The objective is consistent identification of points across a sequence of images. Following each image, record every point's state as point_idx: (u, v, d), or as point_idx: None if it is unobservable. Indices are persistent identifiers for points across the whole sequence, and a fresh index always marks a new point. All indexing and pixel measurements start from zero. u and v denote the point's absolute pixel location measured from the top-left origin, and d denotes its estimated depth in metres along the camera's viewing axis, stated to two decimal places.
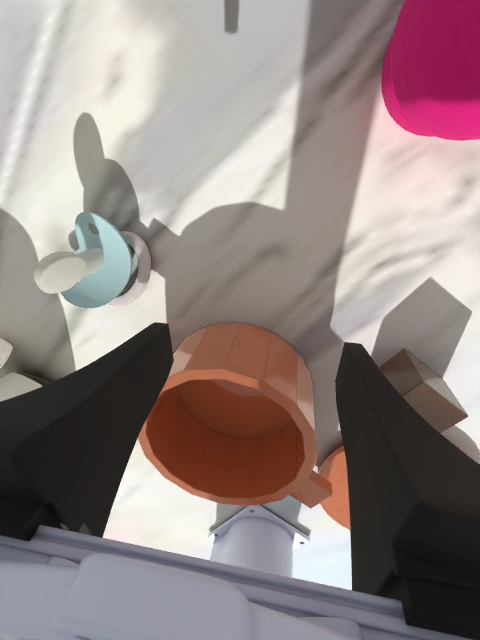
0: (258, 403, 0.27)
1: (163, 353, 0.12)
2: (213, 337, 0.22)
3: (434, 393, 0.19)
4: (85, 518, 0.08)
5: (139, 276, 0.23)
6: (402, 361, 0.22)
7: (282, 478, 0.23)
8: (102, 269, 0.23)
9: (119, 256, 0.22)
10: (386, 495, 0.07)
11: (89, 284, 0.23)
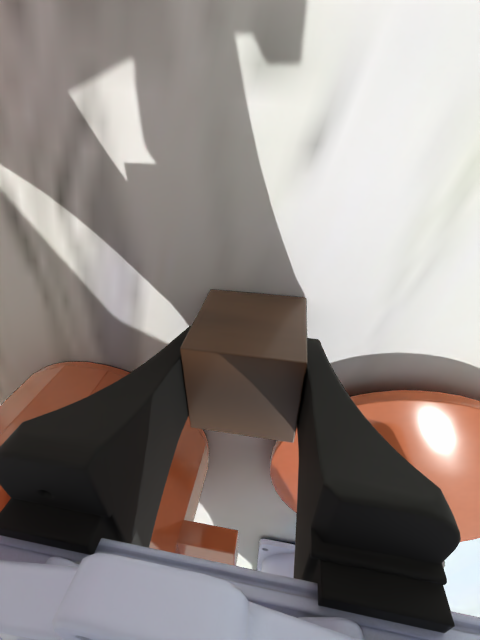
0: None
1: None
2: None
3: (215, 357, 0.10)
4: (137, 529, 0.08)
5: None
6: None
7: None
8: None
9: None
10: (311, 483, 0.07)
11: None
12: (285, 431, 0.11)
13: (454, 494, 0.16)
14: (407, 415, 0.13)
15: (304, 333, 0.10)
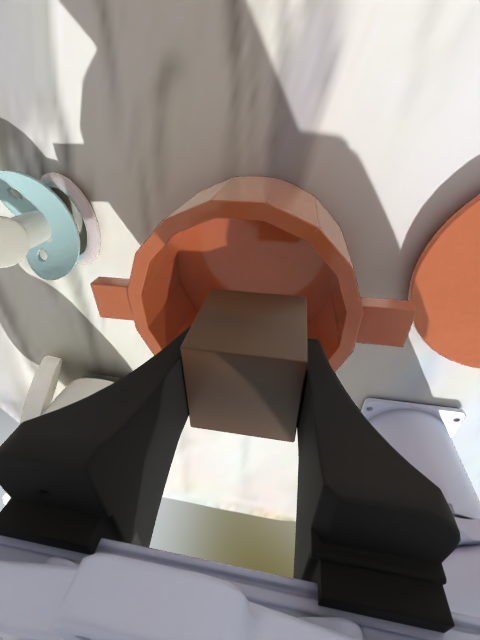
0: (284, 274, 0.21)
1: None
2: None
3: (215, 356, 0.10)
4: (137, 529, 0.08)
5: (82, 213, 0.21)
6: None
7: (340, 326, 0.17)
8: (53, 231, 0.22)
9: (51, 204, 0.20)
10: (311, 482, 0.07)
11: (55, 254, 0.23)
12: (285, 430, 0.11)
13: None
14: None
15: (304, 332, 0.10)
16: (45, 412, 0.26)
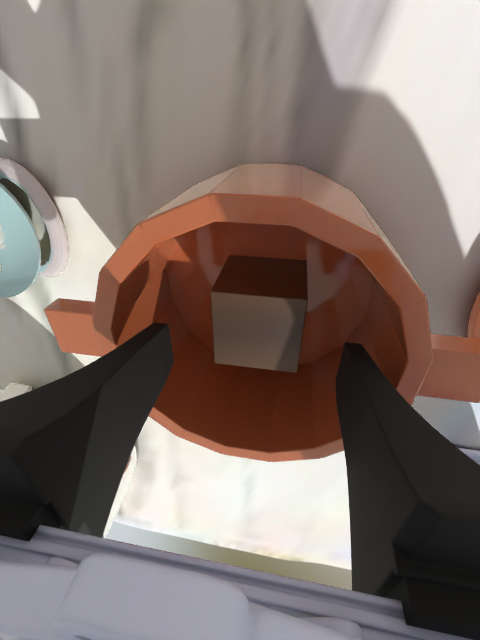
0: None
1: (163, 353, 0.12)
2: None
3: (237, 297, 0.13)
4: (85, 518, 0.08)
5: (42, 212, 0.16)
6: None
7: (390, 374, 0.12)
8: (7, 235, 0.17)
9: None
10: (386, 495, 0.07)
11: (10, 264, 0.18)
12: (290, 362, 0.14)
13: None
14: None
15: (305, 282, 0.13)
16: None
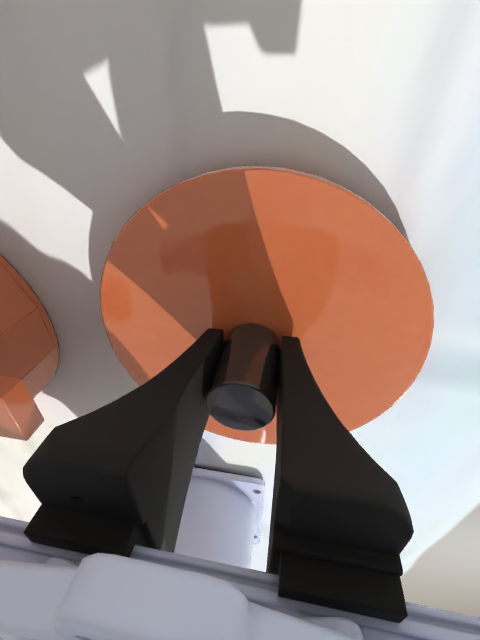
0: None
1: None
2: None
3: None
4: (165, 534, 0.08)
5: None
6: None
7: None
8: None
9: None
10: (277, 477, 0.07)
11: None
12: None
13: (321, 348, 0.12)
14: (224, 204, 0.10)
15: None
16: None
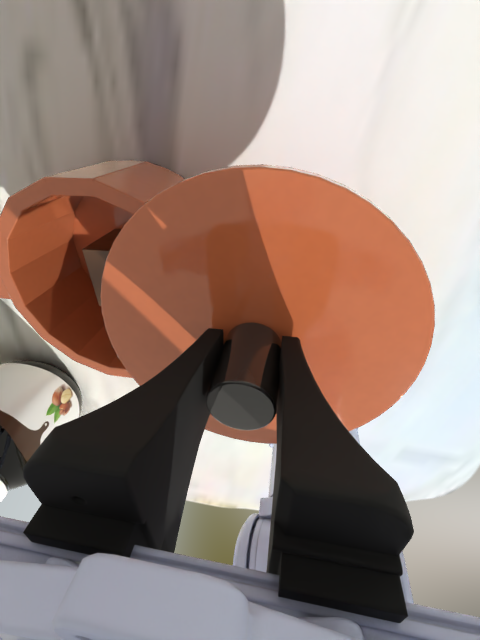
0: None
1: None
2: None
3: (99, 253, 0.18)
4: (165, 534, 0.08)
5: None
6: None
7: None
8: None
9: None
10: (277, 477, 0.07)
11: None
12: None
13: (322, 347, 0.12)
14: (225, 203, 0.10)
15: None
16: None
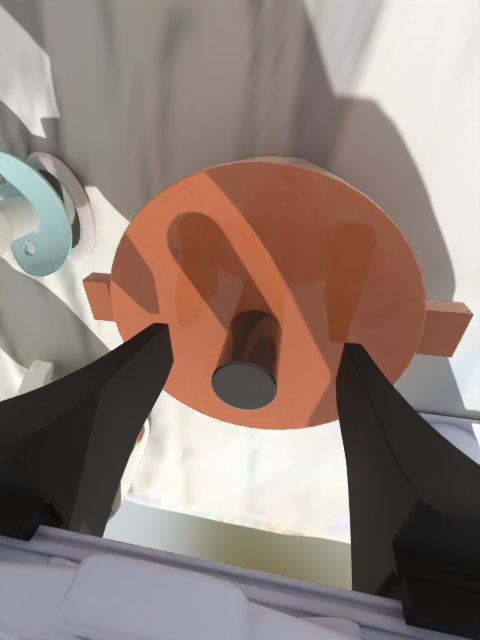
0: None
1: (163, 353, 0.12)
2: None
3: None
4: (85, 518, 0.08)
5: (75, 200, 0.18)
6: None
7: None
8: (42, 221, 0.19)
9: (38, 189, 0.18)
10: (386, 495, 0.07)
11: (44, 246, 0.20)
12: None
13: (320, 334, 0.13)
14: (229, 196, 0.11)
15: None
16: None
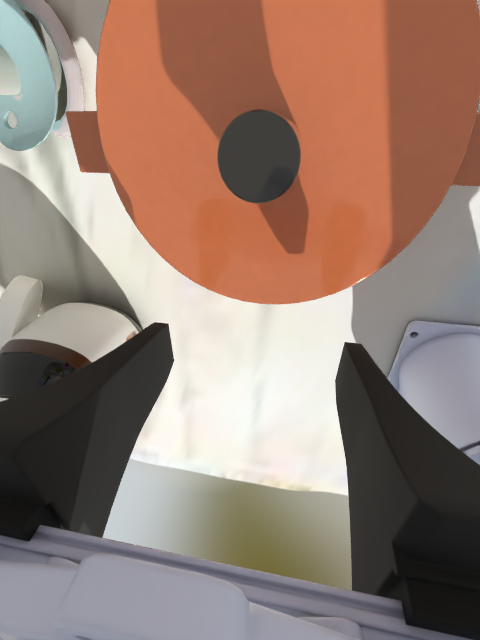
0: None
1: (163, 353, 0.12)
2: None
3: None
4: (85, 518, 0.08)
5: (60, 51, 0.16)
6: None
7: None
8: (24, 83, 0.17)
9: (18, 33, 0.16)
10: (386, 495, 0.07)
11: (26, 116, 0.18)
12: None
13: (347, 142, 0.11)
14: None
15: None
16: (17, 333, 0.21)
